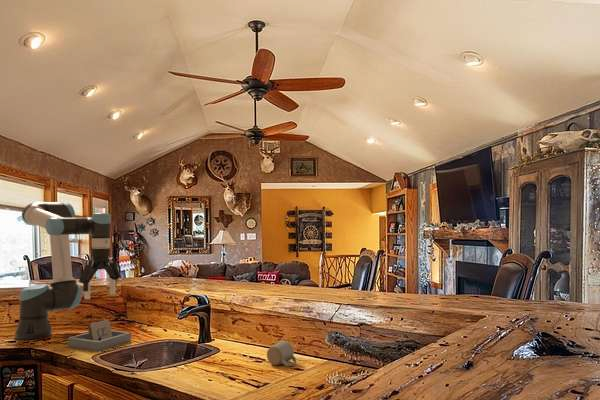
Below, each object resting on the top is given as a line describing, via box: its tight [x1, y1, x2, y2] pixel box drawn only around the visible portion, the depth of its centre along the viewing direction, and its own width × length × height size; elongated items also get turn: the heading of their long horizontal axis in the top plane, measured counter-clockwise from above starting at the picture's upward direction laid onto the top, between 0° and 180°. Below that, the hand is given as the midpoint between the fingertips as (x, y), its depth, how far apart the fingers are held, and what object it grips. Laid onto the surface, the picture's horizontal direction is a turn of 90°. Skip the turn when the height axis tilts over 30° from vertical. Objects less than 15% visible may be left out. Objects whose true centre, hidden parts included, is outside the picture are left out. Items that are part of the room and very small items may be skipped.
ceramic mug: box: [266, 340, 297, 367], centre depth 176 cm, size 11×8×8 cm
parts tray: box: [67, 329, 132, 353], centre depth 205 cm, size 18×18×4 cm
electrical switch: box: [87, 319, 112, 341], centre depth 206 cm, size 9×5×9 cm, turn 151°
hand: (100, 296), depth 206 cm, fingers open, 13 cm apart
